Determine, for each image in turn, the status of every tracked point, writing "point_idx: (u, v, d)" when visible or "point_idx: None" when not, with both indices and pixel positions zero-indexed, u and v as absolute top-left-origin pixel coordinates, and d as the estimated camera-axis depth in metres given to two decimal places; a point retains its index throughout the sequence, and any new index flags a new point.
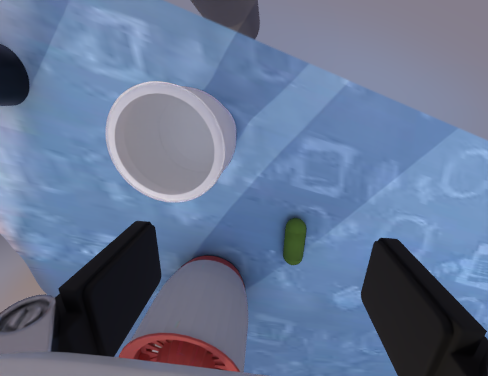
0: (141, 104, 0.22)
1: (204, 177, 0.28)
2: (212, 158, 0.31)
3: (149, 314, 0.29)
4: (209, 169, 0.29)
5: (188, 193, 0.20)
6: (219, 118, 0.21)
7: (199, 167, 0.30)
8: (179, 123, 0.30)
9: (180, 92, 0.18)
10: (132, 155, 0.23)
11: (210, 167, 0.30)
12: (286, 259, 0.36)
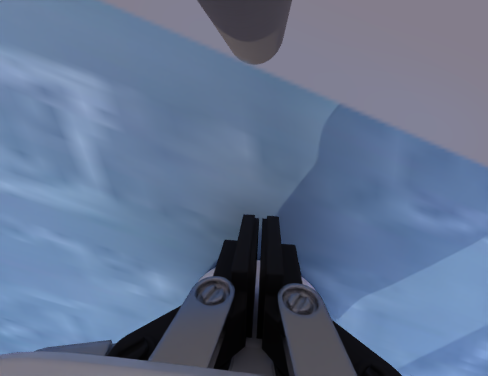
0: None
1: None
2: None
3: None
4: None
5: None
6: None
7: None
8: None
9: None
10: None
11: None
12: None
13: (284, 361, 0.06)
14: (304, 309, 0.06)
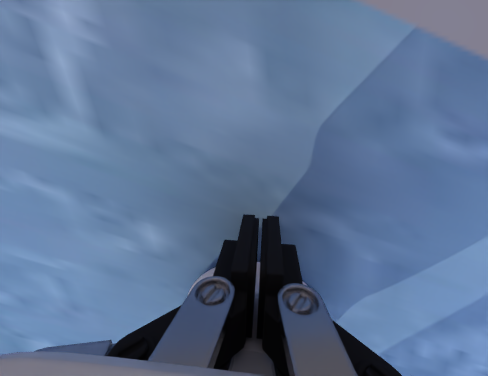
0: None
1: None
2: None
3: None
4: None
5: None
6: None
7: None
8: None
9: None
10: None
11: None
12: None
13: (284, 361, 0.06)
14: (304, 309, 0.06)
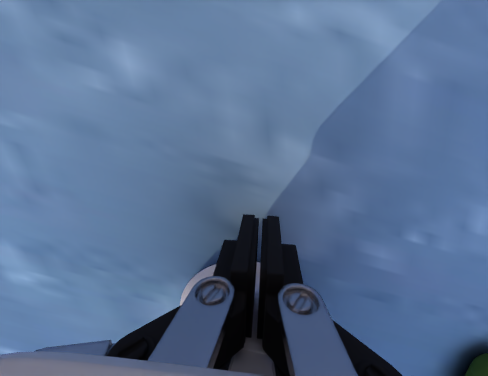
0: None
1: None
2: None
3: None
4: None
5: None
6: None
7: None
8: None
9: None
10: None
11: None
12: None
13: (284, 361, 0.06)
14: (305, 309, 0.06)
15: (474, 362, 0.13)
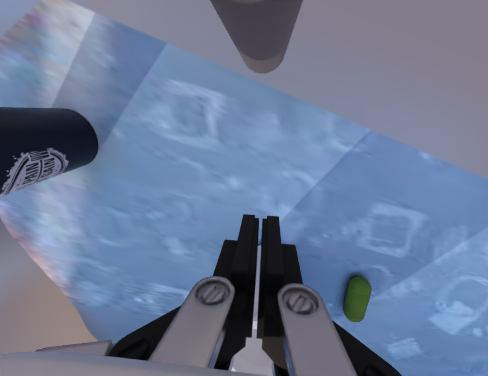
0: None
1: None
2: None
3: None
4: None
5: None
6: None
7: None
8: None
9: None
10: None
11: None
12: (348, 316, 0.37)
13: (284, 361, 0.06)
14: (304, 309, 0.06)
15: (350, 280, 0.37)
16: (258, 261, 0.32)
